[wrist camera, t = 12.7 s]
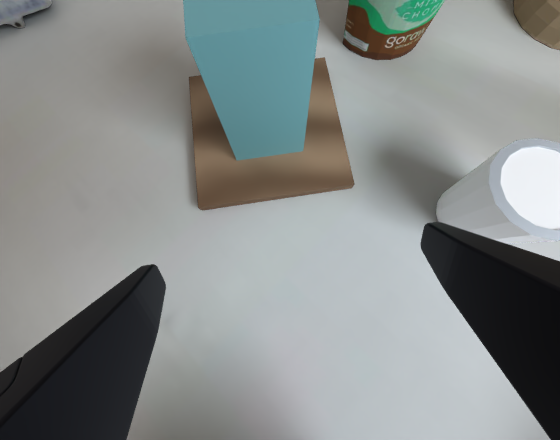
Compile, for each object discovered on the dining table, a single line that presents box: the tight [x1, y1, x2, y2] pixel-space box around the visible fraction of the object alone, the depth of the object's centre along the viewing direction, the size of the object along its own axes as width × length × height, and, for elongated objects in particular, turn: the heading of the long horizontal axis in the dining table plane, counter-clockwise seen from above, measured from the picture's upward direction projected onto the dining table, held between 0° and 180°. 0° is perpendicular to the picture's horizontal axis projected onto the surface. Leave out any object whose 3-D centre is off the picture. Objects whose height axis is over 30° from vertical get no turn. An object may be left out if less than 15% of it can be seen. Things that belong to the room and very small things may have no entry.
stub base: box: [189, 57, 354, 210], centre depth 23 cm, size 14×14×4 cm
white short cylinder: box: [436, 138, 560, 244], centre depth 19 cm, size 7×7×7 cm
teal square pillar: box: [183, 0, 320, 161], centre depth 18 cm, size 6×6×12 cm
